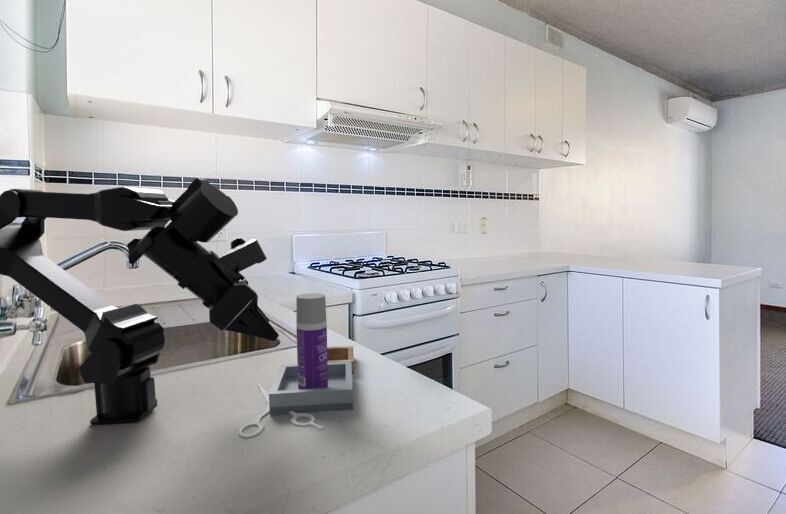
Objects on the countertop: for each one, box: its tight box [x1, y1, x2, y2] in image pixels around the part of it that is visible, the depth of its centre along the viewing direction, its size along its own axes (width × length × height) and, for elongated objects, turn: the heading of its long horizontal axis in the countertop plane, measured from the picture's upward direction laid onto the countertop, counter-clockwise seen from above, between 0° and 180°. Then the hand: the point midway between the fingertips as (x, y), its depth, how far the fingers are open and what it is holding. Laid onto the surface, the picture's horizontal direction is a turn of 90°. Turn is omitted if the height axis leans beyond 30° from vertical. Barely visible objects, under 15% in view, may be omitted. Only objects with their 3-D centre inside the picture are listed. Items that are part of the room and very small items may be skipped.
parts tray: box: [268, 362, 354, 415], centre depth 68 cm, size 12×12×3 cm
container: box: [295, 292, 328, 390], centre depth 67 cm, size 5×5×15 cm
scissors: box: [238, 383, 324, 439], centre depth 65 cm, size 11×1×20 cm
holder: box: [327, 345, 355, 376], centre depth 80 cm, size 9×9×2 cm
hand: (271, 330), depth 65 cm, fingers open, 9 cm apart
